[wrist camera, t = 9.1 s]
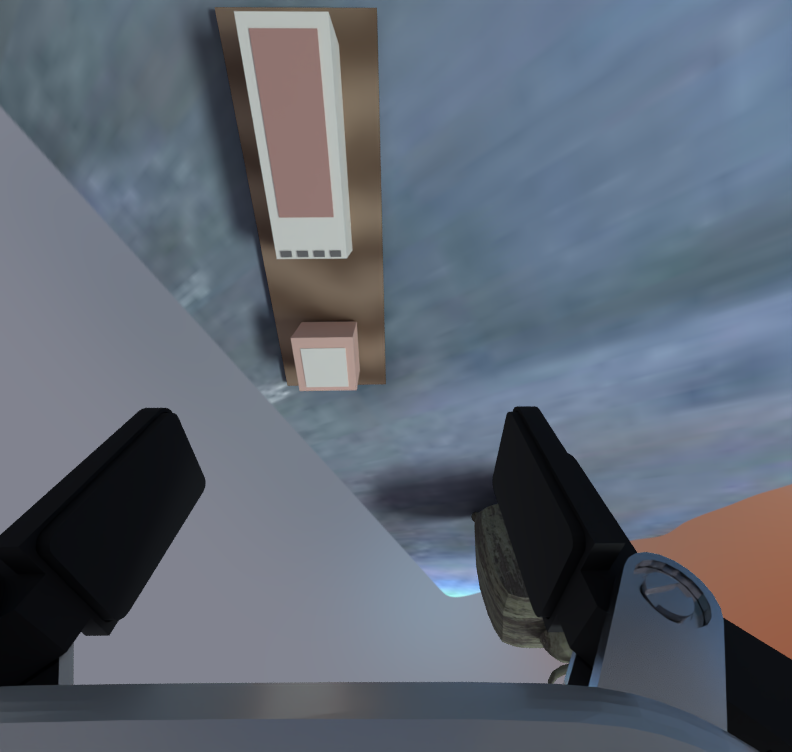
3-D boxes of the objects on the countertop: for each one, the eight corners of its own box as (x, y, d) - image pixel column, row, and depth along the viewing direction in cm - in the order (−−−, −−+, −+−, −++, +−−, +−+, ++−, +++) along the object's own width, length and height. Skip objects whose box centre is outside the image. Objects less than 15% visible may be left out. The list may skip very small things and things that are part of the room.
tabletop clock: (463, 520, 54) (516, 743, 32) (461, 482, 49) (520, 708, 27) (552, 510, 53) (668, 731, 31) (557, 470, 49) (697, 693, 27)
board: (219, 12, 25) (214, 7, 24) (377, 13, 25) (376, 7, 24) (289, 382, 40) (287, 385, 40) (385, 380, 40) (385, 384, 40)
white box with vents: (260, 44, 25) (232, 10, 20) (338, 44, 25) (328, 10, 21) (291, 250, 32) (276, 259, 28) (352, 250, 32) (346, 258, 28)
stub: (301, 322, 35) (290, 338, 31) (356, 321, 35) (352, 337, 31) (309, 370, 38) (299, 391, 34) (359, 369, 38) (356, 390, 34)
